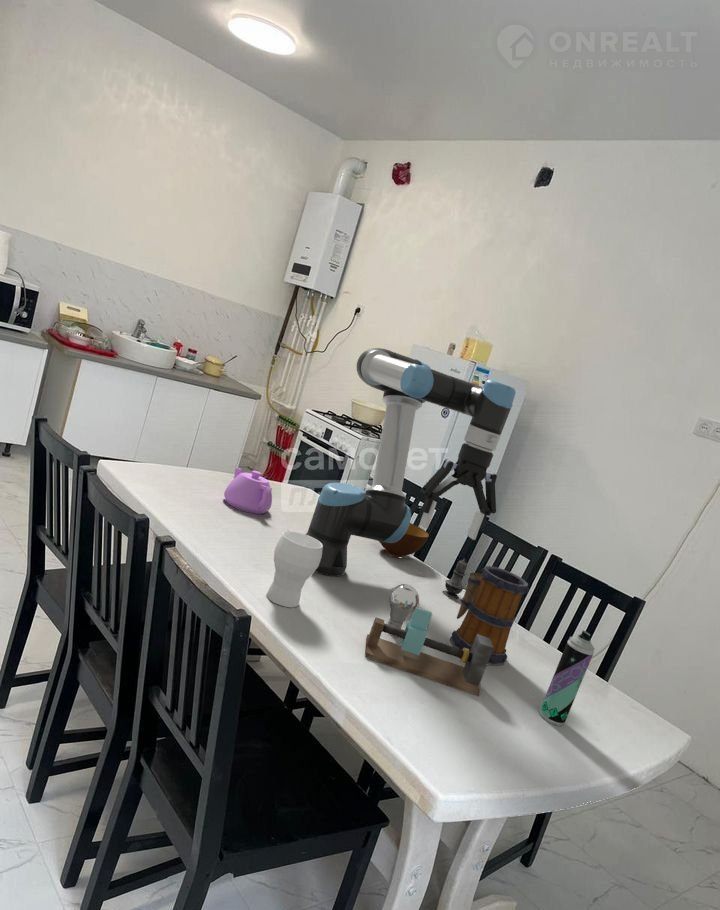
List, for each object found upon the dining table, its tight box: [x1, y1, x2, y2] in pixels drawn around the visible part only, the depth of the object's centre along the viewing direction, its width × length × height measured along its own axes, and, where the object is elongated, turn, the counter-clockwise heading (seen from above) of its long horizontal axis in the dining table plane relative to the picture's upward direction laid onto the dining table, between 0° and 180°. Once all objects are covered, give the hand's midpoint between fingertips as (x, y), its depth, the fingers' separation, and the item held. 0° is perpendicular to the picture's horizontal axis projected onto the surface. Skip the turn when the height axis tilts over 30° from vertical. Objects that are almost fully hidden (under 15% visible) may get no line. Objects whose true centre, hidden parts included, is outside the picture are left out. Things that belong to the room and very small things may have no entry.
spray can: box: [538, 630, 595, 727], centre depth 144 cm, size 6×6×20 cm
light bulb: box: [387, 583, 420, 629], centre depth 161 cm, size 7×7×12 cm
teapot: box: [223, 467, 273, 515], centre depth 224 cm, size 22×16×12 cm
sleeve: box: [400, 606, 433, 655], centre depth 147 cm, size 4×4×9 cm
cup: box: [266, 530, 323, 608], centre depth 158 cm, size 11×11×15 cm
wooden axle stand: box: [364, 616, 493, 697], centre depth 148 cm, size 25×10×10 cm, turn 88°
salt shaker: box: [441, 558, 468, 600], centre depth 205 cm, size 6×6×12 cm
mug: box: [448, 565, 530, 667], centre depth 170 cm, size 19×14×20 cm
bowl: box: [379, 522, 430, 558], centre depth 228 cm, size 18×18×10 cm
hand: (447, 532), depth 162 cm, fingers open, 13 cm apart
